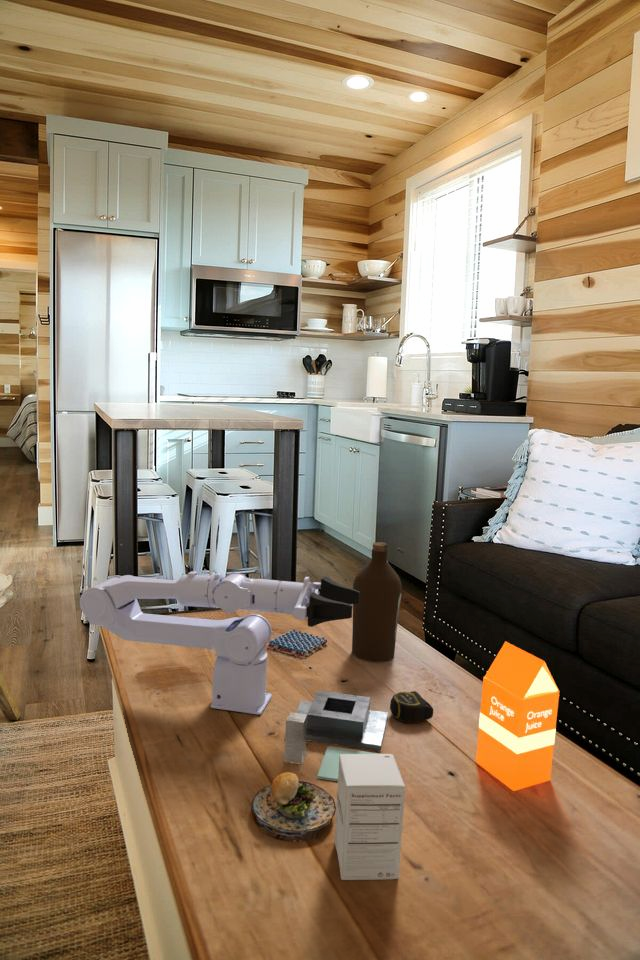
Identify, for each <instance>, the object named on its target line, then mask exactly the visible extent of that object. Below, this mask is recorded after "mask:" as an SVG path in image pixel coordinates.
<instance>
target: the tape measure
mask: <svg viewBox="0 0 640 960" xmlns="http://www.w3.org/2000/svg"><path fill="white" fill-rule="evenodd" d="M391 697H392V698H390V703H389V704H390V705H389V709H390V712H391V713H390V714H392V716H393V717H394V718H396V719H397V720H399V721H402V722H404V723H405V722H406V723H411V724H412V723H413V724H414V723H420V722H423V721H427V720H430V719H432V718H433V715H434V708H433V706H432V705H431V704H430V703H429V702H428V701H427V700H425V699H424V698H423V697H422V696H421V694H419V692H417V691H415V690H413V691H410V692H409V691H399V692H396V693H394V694H393V695H392V696H391Z"/></svg>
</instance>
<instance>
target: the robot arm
mask: <svg viewBox="0 0 640 960" xmlns="http://www.w3.org/2000/svg"><path fill="white" fill-rule="evenodd" d="M79 597H80V598H79V607H80V610H81V612H82V614H83V615H84V616H85V618H86V620H87V621H88V622H89V624H90V625H94V626H99V627H100V626H101V627H102V628H104V629H106V630H107V631H109V632H111V633H112V634H114V635H116V636H117V637H119V638H121V639H122V640H125V641H128V642H130V641H131V642H139V643H149V644H158V645H169V646H178V647H189V648H198V649H205V650H206V649H209V650H213V651H214V652H215V654H216V655H217V657H216V658H215V661H214V663H213V664H214V666H213V671H212V690H211V692H212V694H211V697H212V698H211V704H210V708H211V709H218V710H223V711H231V712H239V713H245V714H251V715H259V716H260V715H261V714H262V713H263V712H264V710H265V708H266V707H267V705H268V704H269V702H270V701H271V699H272V697H273V694H272V693H271V692H270V693H268V692H267V691H266V690H267V672H268V671H267V669H268V668H267V667H268V652H267V648H266V644H268V643H269V642H270V641H271V640H270V639H271V637H272V626H271V624H270V622H269V621H268V619H267V618H265V617H264V615H263V616H262V615H260V614H258V613H257V614H256V613H250V614H248V615H246V616H243V617H236V616H235V617H230V618H225V619H221V620H220V619H219V620H218V619H206V618H200V617H187V616H175V615H164V614H155V613H154V614H153V613H144V612H143V611H142V608H141V606H140V604H139V600H140V599H141V600H142V599H144V600H146V599H147V600H152V599H153V600H154V599H155V600H160V599H162V600H165V599H166V600H169V599H172V600H176V601H177V602H178V603H179V604H180V605H181V606H183V607H198V608H199V607H201V608H216V607H218V608H219V609H221V611H224V612H225V614H232V613H235V612H237V611H238V610H239V609H240V610H246V611H247V610H248V611H254V612H264V613H272V614H273V613H274V614H275V613H276V614H283V615H292V616H293V619H294V620H303V621H305V620H306V619H307V626H308V627H309V628H310V627H311V628H312V627H315V626H317V625H320V624H324V623H327V622H331V621H339V620H341V621H342V620H348V619H353V604H358V603H359V602H360V591H358V590H355V589H353V587H349V586H345V585H342V584H340V583H338V582H336V581H334V580H332V579H331V578H330V577H328V576H322V577H321V579H320V582H317V581H314V582H311V578H310V576H305V577H304V579H303V582H297V581H287V580H277V579H276V580H275V579H265V578H248V577H247V576H246V575H245V574H243V573H239V572H235V571H233V572H230V573H228V574H227V575H226V576H223V574H222V573H220V572H219V573H218V572H217V573H215V574H214V575H211V574H210V575H209V574H208V575H205V574H198V572H197V571H195V570H194V571H192V570H191V571H190V572H188V573H187V574H183V575H182V576H181V577H180V578H179V579H178V580H175V579H174V580H173V579H165V578H154V577H144V576H143V577H142V576H134V575H131V574H126V575H125V574H124V575H112V576H110V577H108V578H107V579H106V580H104V581H102V582H100V583H98V584H96V585H95V586H93V587H89V588H87V589H85V590H84V591H83V592H82V594H81V595H80V596H79ZM138 599H139V600H138Z"/></svg>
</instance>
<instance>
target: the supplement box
mask: <svg viewBox="0 0 640 960" xmlns="http://www.w3.org/2000/svg"><path fill="white" fill-rule="evenodd" d="M405 790H406V784H405V782H404V780H403V777H402V774H401V772H400V768H399V766H398V764H397V760H396V757H395V755H394V754H392V753H378V754H340V755H339V772H338V781H337V792H336V804H335V806H336V811H335V822H334V823H335V825H334V845H335V849H336V854H337V859H338V867H339V874H340V879H341V880H342V881H365V880H366V881H367V880H368V881H370V880H371V881H374V880H375V881H376V880H378V881H379V880H397V879H399V877H400V862H401V861H400V860H401V846H402V837H403V835H402V833H403V821H404V808H405V794H406V793H405V792H406V791H405Z"/></svg>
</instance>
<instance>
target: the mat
mask: <svg viewBox="0 0 640 960" xmlns="http://www.w3.org/2000/svg"><path fill="white" fill-rule="evenodd" d="M326 747H327V748H326V750H325V754H324V756H323V759H322V761H321V763H320V764H321V765H320V767H319V768H318V773H317V777H316V778H317V779H321V780H327V781H333V782H338V772H339V755H340V754H379V753H376V752H370V751H363V750H357V749H350V748H343V747H337V746H328V745H327V746H326Z"/></svg>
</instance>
